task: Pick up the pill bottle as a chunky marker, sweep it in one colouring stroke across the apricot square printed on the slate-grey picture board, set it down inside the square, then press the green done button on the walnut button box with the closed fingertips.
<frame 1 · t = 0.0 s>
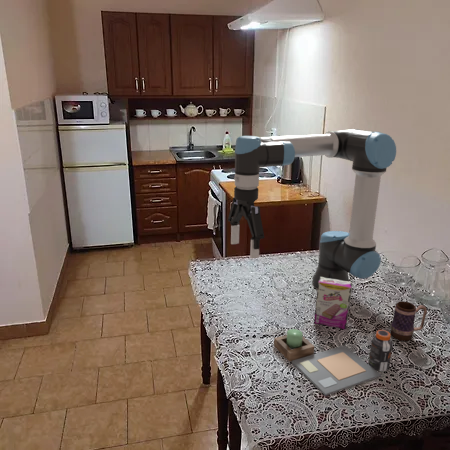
hand: (244, 250, 140), 28 cm above the table, fingers open, 13 cm apart
picture board: (335, 369, 127), on the table
mug: (405, 337, 144), on the table
done button: (294, 338, 134), point 4 cm above the table, slide at 0.0 cm
pill bottle: (378, 366, 129), on the table
candy bar box: (330, 324, 151), on the table
button box: (293, 350, 135), on the table
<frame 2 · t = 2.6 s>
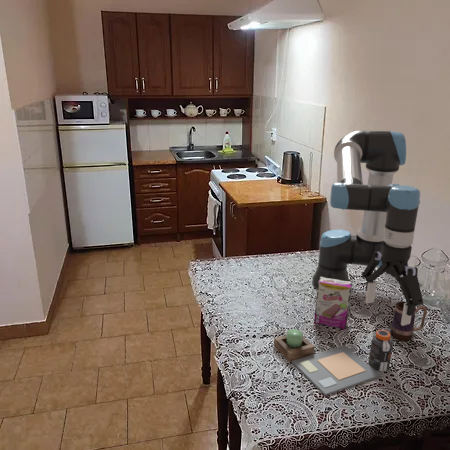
hand: (386, 312, 123), 18 cm above the table, fingers open, 13 cm apart
nothing on the table moved.
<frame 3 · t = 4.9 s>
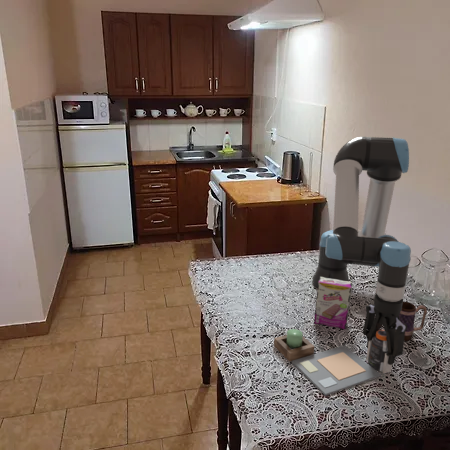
hand: (378, 365, 128), 0 cm above the table, fingers closed on pill bottle, 6 cm apart
pill bottle: (378, 366, 129), on the table, touching gripper
everything else where it was.
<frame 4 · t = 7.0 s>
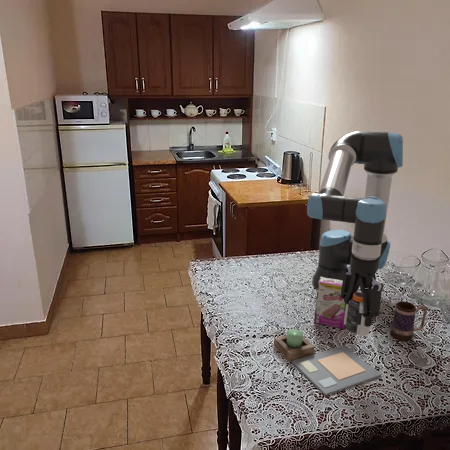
hand: (355, 328, 125), 12 cm above the table, fingers closed on pill bottle, 6 cm apart
pill bottle: (355, 330, 125), point 12 cm above the table, touching gripper
everything else where it was.
when the fingers open (2 cm above the table, at t = 9.4 s): pill bottle stays where it is, resting on picture board.
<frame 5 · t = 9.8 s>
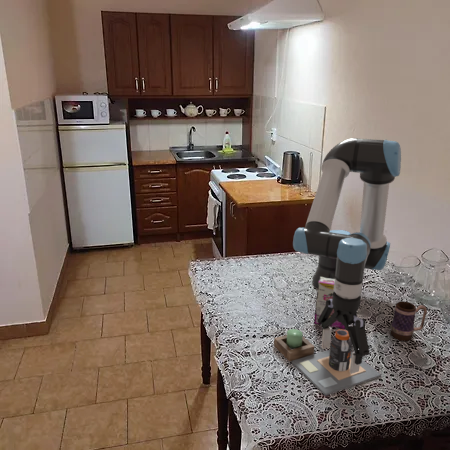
hand: (339, 359, 126), 3 cm above the table, fingers open, 12 cm apart
pill bottle: (338, 366, 127), point 1 cm above the table, touching picture board
everything else where it was.
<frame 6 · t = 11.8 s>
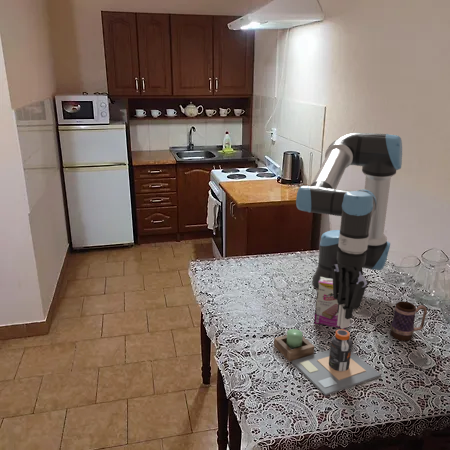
hand: (343, 325, 123), 14 cm above the table, fingers closed
nothing on the table moved.
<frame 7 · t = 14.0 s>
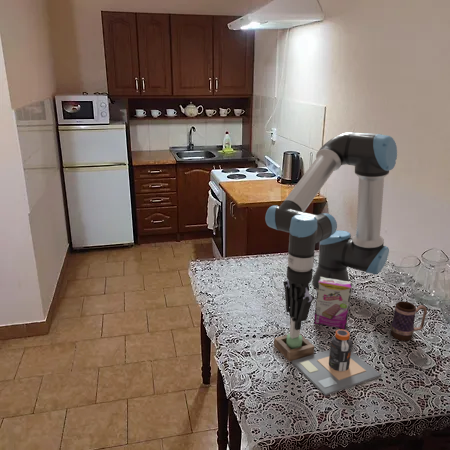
hand: (294, 336, 134), 5 cm above the table, fingers closed
done button: (294, 342, 134), point 3 cm above the table, slide at 1.4 cm, touching gripper
everything else where it was.
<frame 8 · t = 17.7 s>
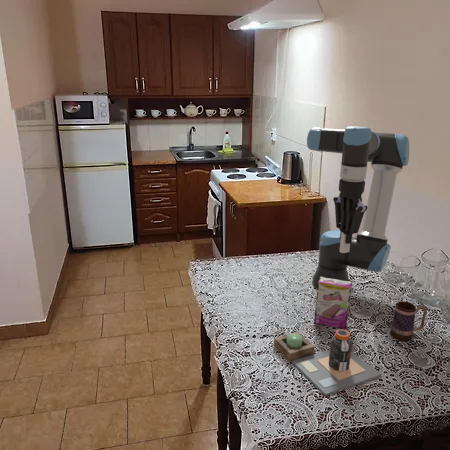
hand: (344, 251, 136), 29 cm above the table, fingers closed
done button: (294, 343, 134), point 3 cm above the table, slide at 1.6 cm
everything else where it was.
at the end: pill bottle inside the target area (0.3 cm from its centre), point 0.6 cm above the table; pill bottle tilted 0°; done button slide at 1.6 cm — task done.
